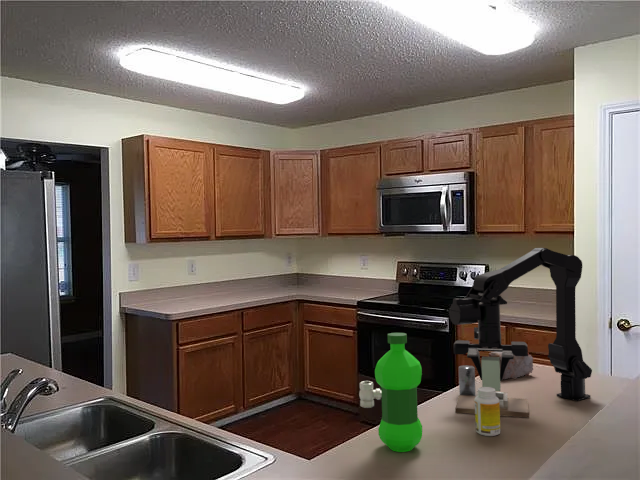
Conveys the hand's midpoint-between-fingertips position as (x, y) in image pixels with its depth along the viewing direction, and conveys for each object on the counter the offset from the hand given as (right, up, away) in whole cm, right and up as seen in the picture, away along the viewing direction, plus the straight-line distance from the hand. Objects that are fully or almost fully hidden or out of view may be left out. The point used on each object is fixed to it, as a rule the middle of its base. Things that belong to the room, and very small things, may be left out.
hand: (491, 380), depth 146 cm
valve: (-29, -9, +6) cm, 31 cm away
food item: (+16, -7, +31) cm, 36 cm away
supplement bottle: (-6, -8, -18) cm, 21 cm away
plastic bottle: (-28, -9, -25) cm, 38 cm away
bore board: (0, -7, 0) cm, 7 cm away
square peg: (0, -2, 0) cm, 2 cm away
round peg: (-3, -8, +13) cm, 15 cm away
